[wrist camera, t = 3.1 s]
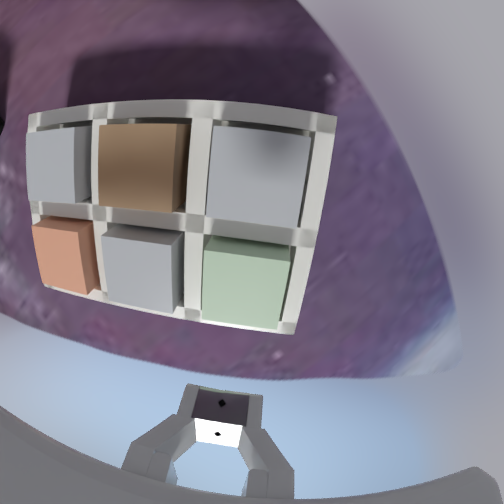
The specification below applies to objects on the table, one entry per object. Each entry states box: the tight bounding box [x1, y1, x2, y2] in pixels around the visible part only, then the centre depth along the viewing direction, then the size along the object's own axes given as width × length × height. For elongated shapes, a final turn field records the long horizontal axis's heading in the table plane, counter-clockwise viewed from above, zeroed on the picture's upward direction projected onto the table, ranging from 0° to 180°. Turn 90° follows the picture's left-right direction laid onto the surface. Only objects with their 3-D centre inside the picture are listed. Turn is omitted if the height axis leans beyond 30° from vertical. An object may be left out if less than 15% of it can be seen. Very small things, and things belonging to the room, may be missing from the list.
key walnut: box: [98, 124, 192, 213], centre depth 16 cm, size 5×5×3 cm
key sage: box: [202, 235, 291, 330], centre depth 19 cm, size 5×5×3 cm
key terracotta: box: [32, 216, 100, 295], centre depth 19 cm, size 5×5×3 cm
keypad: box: [26, 99, 337, 335], centre depth 19 cm, size 15×22×6 cm
